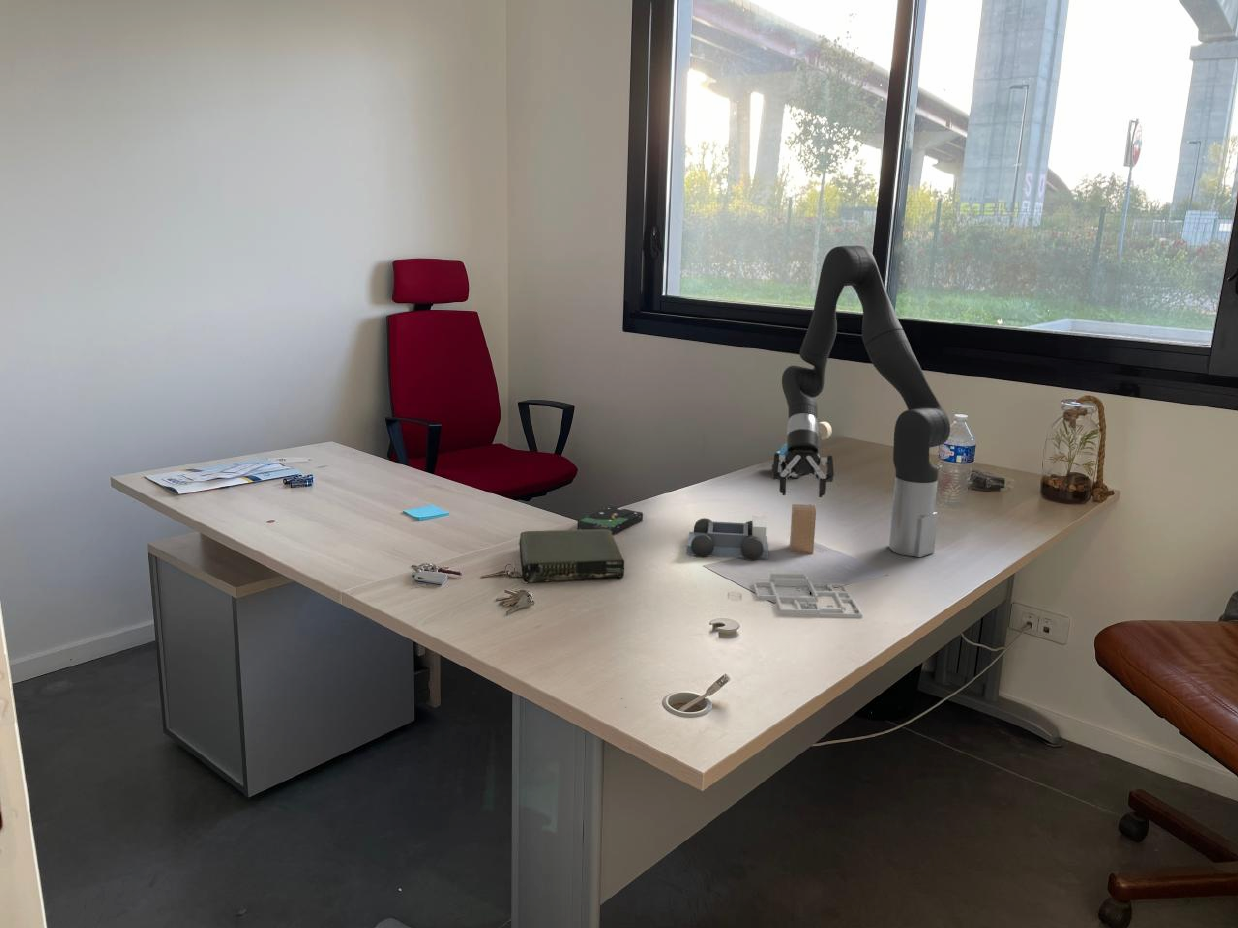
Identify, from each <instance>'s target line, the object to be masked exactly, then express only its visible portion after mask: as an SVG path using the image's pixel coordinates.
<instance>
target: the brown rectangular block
mask: <svg viewBox="0 0 1238 928" xmlns="http://www.w3.org/2000/svg"><path fill="white" fill-rule="evenodd" d="M816 518H817V510H816V505H814V504H800V503H799V504H798V503H797V504H796V503H792V506H791V522H790V539H789V549H790V552H791V553H795V554H796V553H798V554H801V553H802V554H814V548H815V547H814V546H815V537H816V536H815V533H816V532H815V531H816V520H817V519H816Z"/></svg>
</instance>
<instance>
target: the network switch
mask: <svg viewBox="0 0 1238 928" xmlns="http://www.w3.org/2000/svg"><path fill="white" fill-rule="evenodd" d="M518 545H519V555H520V556H519V557H520V569H521V578H522V580H523V582H524V581H525V582H530V581H534V582H538V581H545V580H548V581H550V580H552V581H561V580H562V581H567V580H570V581H572V579H573V580H577V579H578V580H579V581H582V580H585V579H599V578H609V579H610V578H619V579H620V578H621V579H623V578H624V575H625V560H624V558H623V557H622V554H621V552H620V549H619V547H618V545H617V542H616V539H615V537H614V535H612V531H610V530H605V529H594V530H581V529H563V530H562V529H559V530H558V529H557V530H556V529H554V530H526V531H522V532H521V533H520V536H519V543H518ZM581 579H582V580H581ZM525 582H524V583H525ZM545 582H546V581H545ZM530 583H531V582H530Z"/></svg>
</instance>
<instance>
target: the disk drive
mask: <svg viewBox="0 0 1238 928" xmlns="http://www.w3.org/2000/svg"><path fill="white" fill-rule="evenodd" d="M643 520H644V513H643V512H642V511H635V510H630V509H627V508H623V509H618V507H616V506H611V505H609V506H606V507H604V508H602V509H600V510H597V511H595V512H593V513H590V514H588V515H586V516H583V517H581V518H579V519H577V522H578V523H577V529H576V530H594V529H605V530H610V531H612V535H613V536H615V535H617V534H620V533H621V532H624V531H625V530H627V529H630V528H631V527H634V526H636V525H638V524H639V523H641V522H643Z"/></svg>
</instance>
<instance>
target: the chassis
mask: <svg viewBox="0 0 1238 928" xmlns="http://www.w3.org/2000/svg"><path fill="white" fill-rule="evenodd" d="M766 518H767V517H766V516H762V515H761V516H759V515H758V516H757V515H752V519H751V520H749V521H746V522H731V521H730V522H729V521H728V522H727V521H713V520H711V519H709V518H705V517H704V518H700V519H698V520H697V521H696V522H695V524H694V526H693V531H689V533H688V539H687V544H686V555H695V556H696V557H699V558H706V557H709V556H714V557H715V556H716V557H718V556H719V557H731V558H734V557H735V558H745V559H746V560H749V561H757V560H758V559H765V560H766V559H768V552H769V549H768V536H767V519H766Z"/></svg>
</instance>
